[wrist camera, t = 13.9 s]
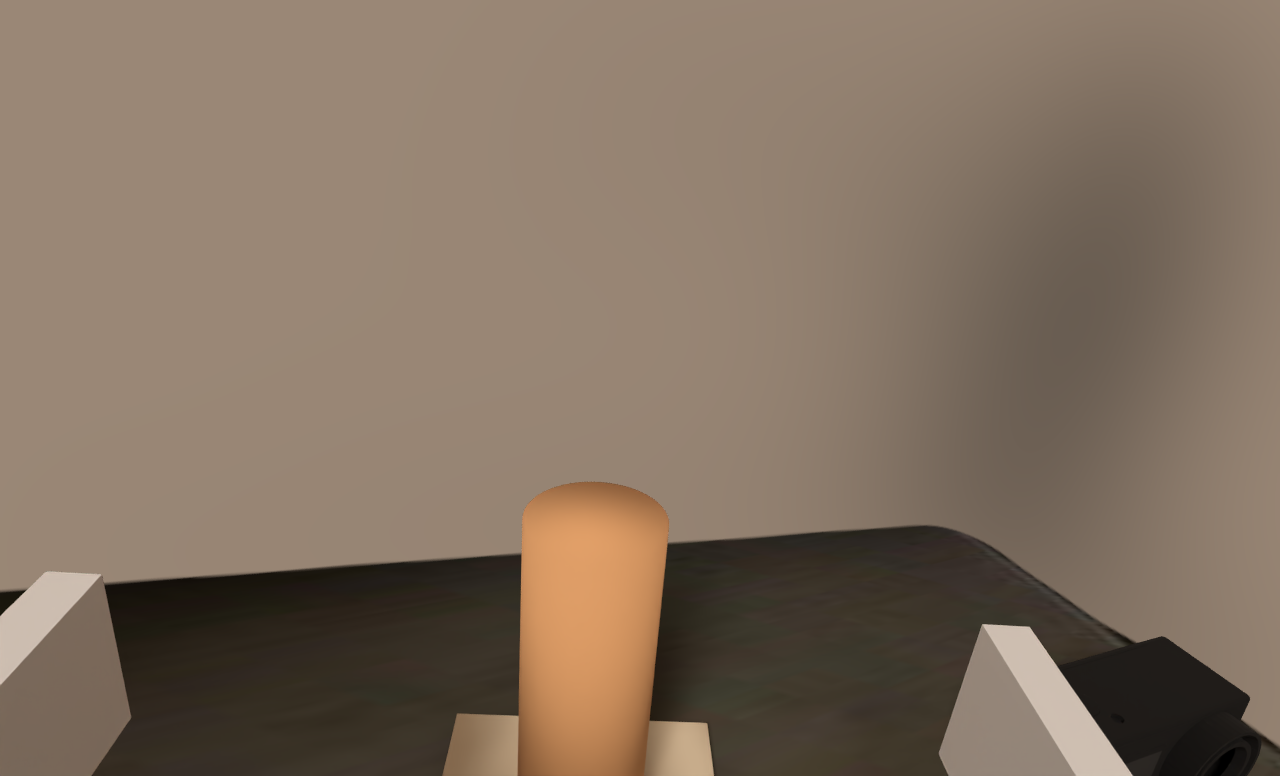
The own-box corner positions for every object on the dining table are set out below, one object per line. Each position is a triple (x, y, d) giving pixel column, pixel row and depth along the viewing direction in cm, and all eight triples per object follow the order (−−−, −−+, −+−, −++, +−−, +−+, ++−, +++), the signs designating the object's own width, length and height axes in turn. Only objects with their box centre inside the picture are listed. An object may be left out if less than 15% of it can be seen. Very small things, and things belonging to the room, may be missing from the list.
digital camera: (1056, 908, 33) (1107, 781, 30) (961, 799, 38) (997, 681, 35) (1224, 833, 37) (1282, 715, 34) (1119, 743, 42) (1163, 633, 39)
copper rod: (509, 885, 31) (514, 557, 26) (523, 777, 36) (530, 478, 30) (639, 888, 32) (673, 564, 26) (636, 781, 36) (665, 485, 30)
